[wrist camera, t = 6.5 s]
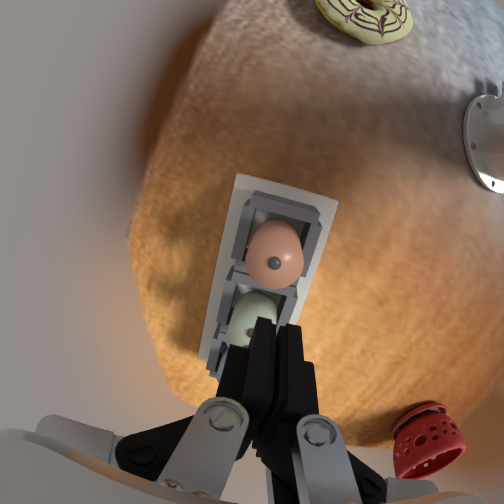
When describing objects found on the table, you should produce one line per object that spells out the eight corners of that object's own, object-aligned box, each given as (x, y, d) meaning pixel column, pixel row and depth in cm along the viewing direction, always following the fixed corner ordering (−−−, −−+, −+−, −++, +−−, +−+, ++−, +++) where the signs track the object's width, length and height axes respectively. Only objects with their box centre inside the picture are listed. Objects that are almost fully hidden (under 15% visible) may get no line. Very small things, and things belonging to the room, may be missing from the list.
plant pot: (384, 414, 36) (399, 469, 25) (450, 386, 34) (475, 434, 22) (384, 445, 40) (394, 491, 29) (441, 422, 37) (458, 464, 26)
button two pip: (239, 286, 25) (230, 316, 20) (282, 297, 25) (281, 329, 20) (231, 320, 27) (221, 354, 22) (270, 330, 27) (267, 365, 22)
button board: (239, 172, 26) (230, 175, 22) (336, 199, 26) (347, 208, 22) (200, 351, 34) (190, 376, 30) (273, 370, 34) (272, 397, 29)
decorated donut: (375, 66, 21) (387, 55, 18) (293, 8, 20) (295, -8, 16) (417, 22, 18) (430, 11, 14) (344, -30, 17) (349, -46, 13)
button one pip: (258, 213, 23) (253, 228, 18) (305, 225, 23) (311, 244, 18) (247, 256, 24) (239, 281, 19) (291, 268, 24) (293, 296, 19)
